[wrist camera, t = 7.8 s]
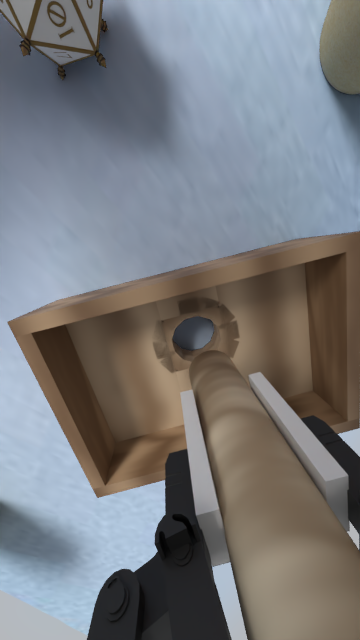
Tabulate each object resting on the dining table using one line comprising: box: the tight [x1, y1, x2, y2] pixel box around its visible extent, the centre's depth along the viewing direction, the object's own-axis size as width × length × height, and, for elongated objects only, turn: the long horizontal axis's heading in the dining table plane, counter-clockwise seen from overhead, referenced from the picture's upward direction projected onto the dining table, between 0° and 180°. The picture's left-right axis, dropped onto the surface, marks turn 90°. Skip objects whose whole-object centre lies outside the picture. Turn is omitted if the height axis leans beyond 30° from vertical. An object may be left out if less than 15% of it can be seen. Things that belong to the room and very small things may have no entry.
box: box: [8, 231, 360, 498], centre depth 22 cm, size 26×18×8 cm
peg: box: [189, 350, 360, 640], centre depth 10 cm, size 4×4×14 cm
